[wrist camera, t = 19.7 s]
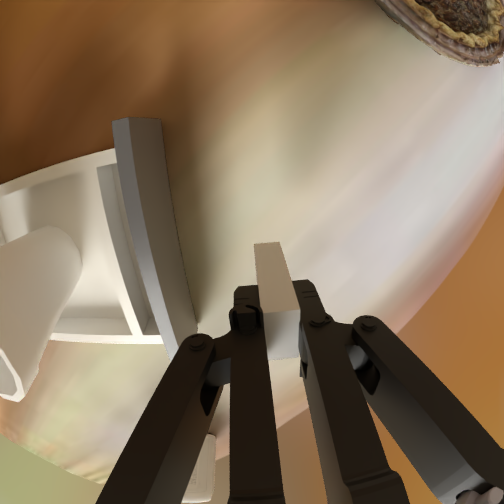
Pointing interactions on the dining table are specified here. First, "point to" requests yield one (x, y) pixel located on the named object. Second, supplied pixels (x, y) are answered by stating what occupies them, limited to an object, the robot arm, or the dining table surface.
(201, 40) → the dining table surface
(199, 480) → the photo printer
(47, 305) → the foam cup
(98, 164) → the tray
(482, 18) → the pie
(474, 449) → the robot arm
